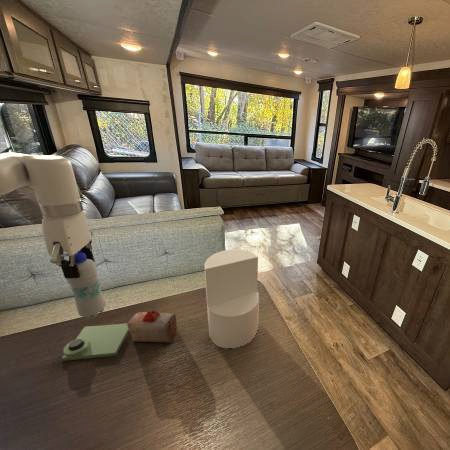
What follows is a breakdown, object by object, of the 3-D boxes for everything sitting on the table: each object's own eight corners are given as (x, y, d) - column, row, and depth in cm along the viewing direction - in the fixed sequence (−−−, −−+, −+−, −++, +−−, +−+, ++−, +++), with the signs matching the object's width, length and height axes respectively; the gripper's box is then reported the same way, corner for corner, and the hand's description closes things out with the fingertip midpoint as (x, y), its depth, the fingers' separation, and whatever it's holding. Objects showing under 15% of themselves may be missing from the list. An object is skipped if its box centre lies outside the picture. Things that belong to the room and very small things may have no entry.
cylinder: (203, 321, 91) (198, 255, 80) (247, 306, 101) (248, 245, 90) (217, 357, 78) (213, 285, 67) (266, 336, 88) (269, 269, 77)
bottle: (103, 301, 77) (88, 245, 70) (110, 312, 74) (95, 254, 66) (75, 312, 72) (56, 253, 65) (82, 324, 69) (62, 263, 61)
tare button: (67, 351, 73) (66, 347, 72) (74, 342, 75) (72, 339, 75) (79, 350, 73) (78, 346, 73) (85, 341, 76) (84, 338, 76)
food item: (127, 344, 79) (121, 321, 76) (141, 325, 87) (136, 303, 83) (170, 346, 80) (167, 323, 77) (180, 327, 88) (177, 305, 84)
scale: (61, 362, 72) (58, 355, 71) (85, 329, 83) (83, 322, 82) (115, 356, 75) (113, 349, 74) (132, 325, 86) (130, 319, 85)
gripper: (67, 197, 67) (83, 254, 74) (14, 221, 52) (40, 291, 59) (98, 198, 69) (111, 254, 76) (56, 222, 53) (77, 289, 60)
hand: (80, 269), depth 67 cm, fingers closed on bottle, 6 cm apart
